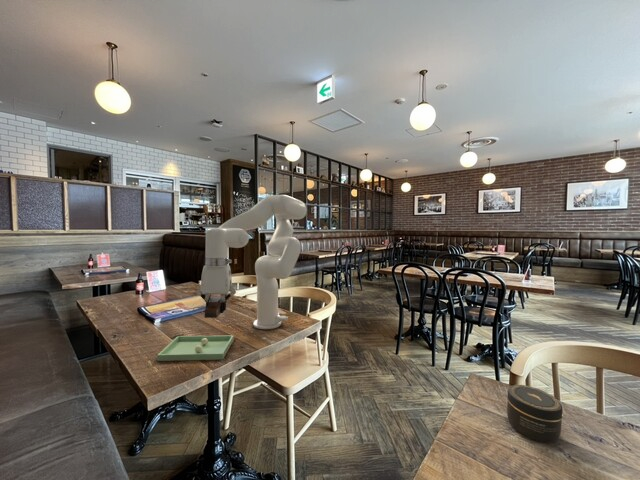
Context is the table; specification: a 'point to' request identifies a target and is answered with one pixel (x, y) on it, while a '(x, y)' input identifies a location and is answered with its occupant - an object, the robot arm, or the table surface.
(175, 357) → the tray
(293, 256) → the robot arm
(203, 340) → the crumb
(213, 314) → the stepped brown post
